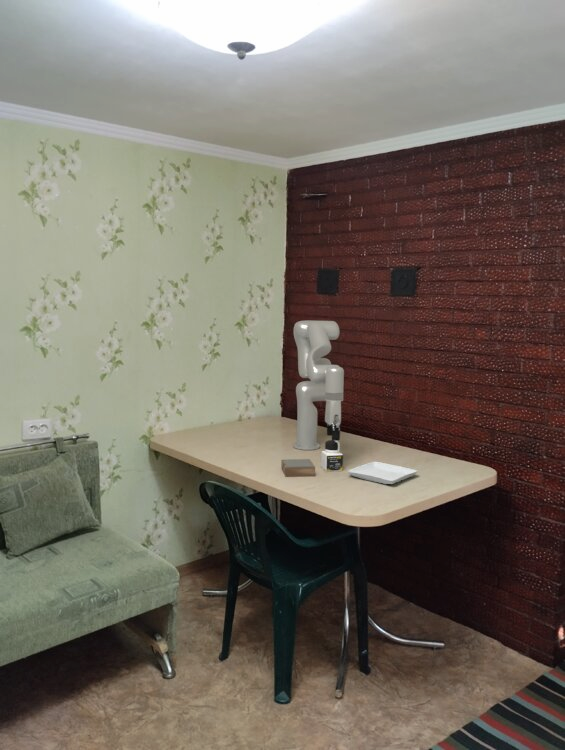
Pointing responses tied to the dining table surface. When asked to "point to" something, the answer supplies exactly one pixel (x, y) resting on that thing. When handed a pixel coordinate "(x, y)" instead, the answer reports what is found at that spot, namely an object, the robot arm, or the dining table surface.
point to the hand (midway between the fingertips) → (333, 437)
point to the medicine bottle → (332, 456)
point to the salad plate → (382, 472)
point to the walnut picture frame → (297, 467)
